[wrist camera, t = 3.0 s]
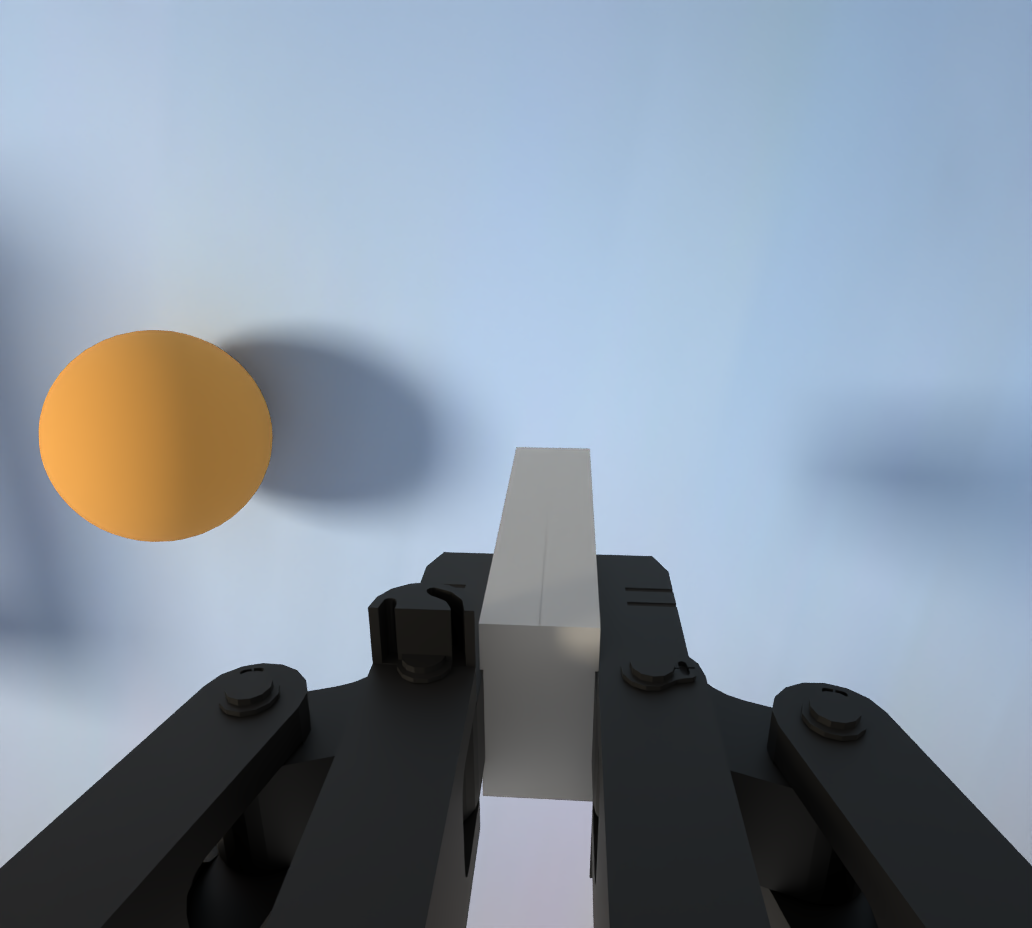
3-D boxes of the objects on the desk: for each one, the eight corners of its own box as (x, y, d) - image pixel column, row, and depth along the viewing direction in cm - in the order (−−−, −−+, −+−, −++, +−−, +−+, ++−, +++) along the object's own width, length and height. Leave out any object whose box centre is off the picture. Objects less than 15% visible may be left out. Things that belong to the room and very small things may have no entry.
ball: (100, 312, 22) (-45, 355, 16) (289, 313, 21) (201, 358, 16) (135, 490, 24) (16, 578, 18) (309, 493, 23) (236, 584, 18)
